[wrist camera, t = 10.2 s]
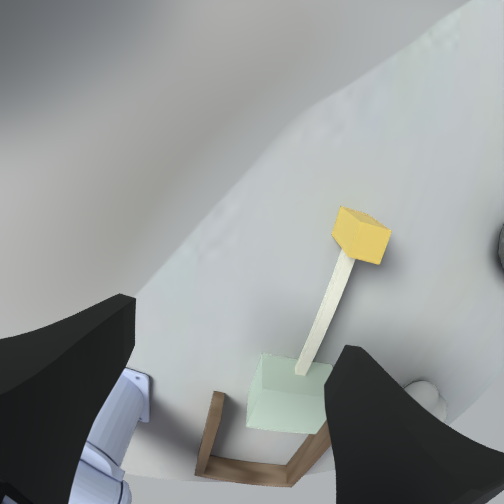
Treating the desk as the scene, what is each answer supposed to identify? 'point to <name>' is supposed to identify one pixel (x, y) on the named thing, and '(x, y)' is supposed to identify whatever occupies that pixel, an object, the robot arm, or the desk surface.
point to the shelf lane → (250, 470)
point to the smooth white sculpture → (428, 398)
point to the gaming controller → (501, 247)
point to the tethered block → (312, 341)
